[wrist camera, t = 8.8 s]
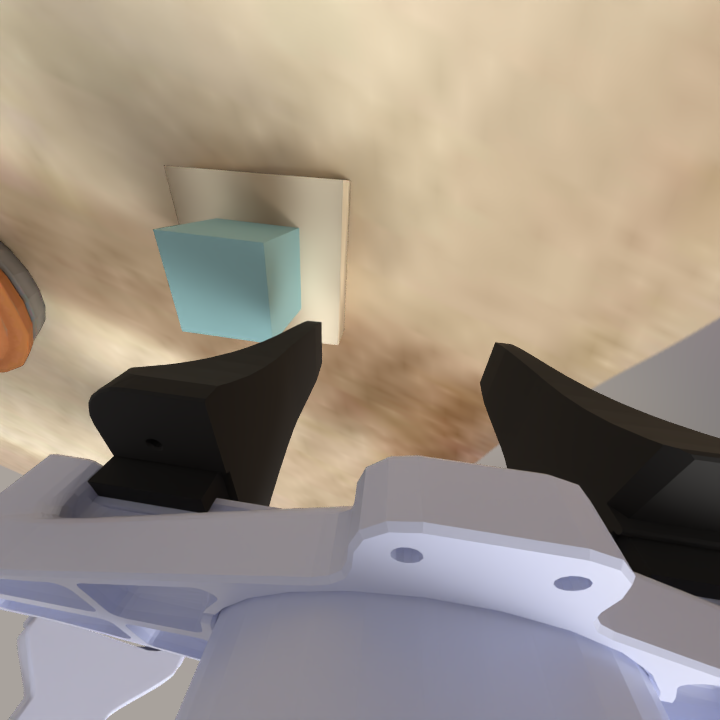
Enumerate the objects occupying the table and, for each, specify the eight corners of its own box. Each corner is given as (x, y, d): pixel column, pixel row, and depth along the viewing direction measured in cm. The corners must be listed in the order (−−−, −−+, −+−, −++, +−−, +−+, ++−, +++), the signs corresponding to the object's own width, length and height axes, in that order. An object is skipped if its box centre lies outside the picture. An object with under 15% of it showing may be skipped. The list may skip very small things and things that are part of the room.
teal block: (230, 299, 19) (182, 331, 15) (216, 218, 16) (152, 229, 12) (301, 308, 19) (272, 344, 15) (299, 228, 16) (263, 242, 12)
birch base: (223, 315, 23) (205, 328, 21) (192, 167, 17) (163, 165, 15) (344, 329, 22) (338, 345, 20) (350, 180, 17) (343, 180, 15)
